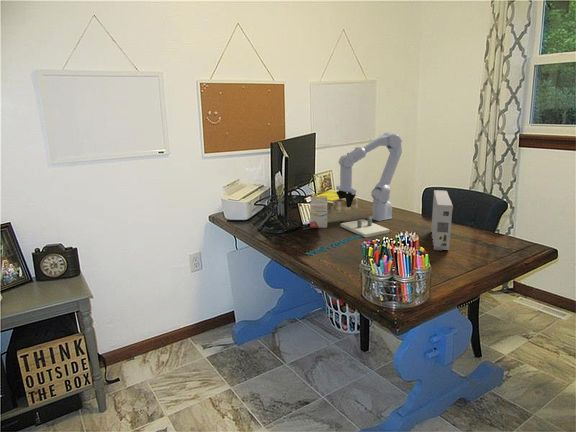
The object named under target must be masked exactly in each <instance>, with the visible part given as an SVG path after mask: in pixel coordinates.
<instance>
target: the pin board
mask: <svg viewBox="0 0 576 432" xmlns="http://www.w3.org/2000/svg"><path fill="white" fill-rule="evenodd" d="M340 227H341V228H344V229H345V230H348V231H349V232H353V233H354V234H355V235H359V234H361V235H362V238H363V237H364V238H370V237H375V236H379V235H384V234H390V231H391V229H389V228H387V227H385V226H382V225H379V224H376V223H374V222H373V219H372V218H369V217H367V220H366V219H364V218H363V219H357V220H352V221H347V222H342V223H340Z"/></svg>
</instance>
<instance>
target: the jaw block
mask: <svg viewBox="0 0 576 432" xmlns="http://www.w3.org/2000/svg"><path fill="white" fill-rule="evenodd" d="M357 209H359V198H357V197H354V199H353V201H352V205H351V207H347V205H346V198H343V199H339V198H338V199H333V200H332V210H333V211H335V212H338V213H339V212H345V211H350V210H351V211H352V210H357Z"/></svg>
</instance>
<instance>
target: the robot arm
mask: <svg viewBox="0 0 576 432" xmlns="http://www.w3.org/2000/svg"><path fill="white" fill-rule="evenodd" d="M402 141H403V140H402V138H401V136H400V135H399V134H398V133H391V132H384V133H383V134H381V135H379V136H378V137H377V138H375V139H373V140H372V141H370V142H369V143H368V144H366V145H364V146H362V147H361V146H355V147H354V149H353V150H351V151H349V152H347V153H346V155H345V154H343V155H341V156H340V158H339V160H338V164H339V166H340V170H339V171H340V173H339V174H340V175H339V176H340V178H339V181H340V182H339V183H340V185H336V186H335V188H336V190H337V191H336V194H337V196H338V199H343V198H346V205H347V207H351V205H352V201H353V199H354V198H356V197H355V196H357V190H356V189H355V188H353V187H352V186H353V184H352V181H353V179H352V177H353V170H352V169H353V166H354V164H356V163H357V162H359V161H360V160H362V159H364V158H366V155H367V153H369V152H372V151H374V150H375V149H377V148H379V147H386V148H387V149H388V151H389V155H388V158H387V160H386V163H385V165H384V168H383V171H382V173H381V177H380V179H379V181H378V182H377V183H376V185H375V186H374V188H373V189H372V190H371V192H370V193H371V197H372V199H373V200H372V215H370V216H368V218H372V220H375V221H377V222H380V221H385V220H386V221H387V220H391V219H393V217H392V215H393V205H392V203H391V201H389V200H390V193H391V187H390V184H391V181H392V179H393V177H394V175H395V171H396V170H397V167H398V164H399V161H400V159H401V156H402V152H403V151H402V143H403V142H402Z"/></svg>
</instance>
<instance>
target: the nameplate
mask: <svg viewBox="0 0 576 432" xmlns="http://www.w3.org/2000/svg"><path fill="white" fill-rule="evenodd" d="M348 237H349V236H348ZM359 238H363V236H362V235H361V234H355V235H352V237H349V238H344V239H341V240H340V241H336V242H333V243H329V244H328V246H324V245H323V246H322V245H321V246H320V247H319V248H317V249H314V250H311V251H309V252H305V253H304V255H305V254H307V255H306V256H311V255H314V256H315V254H319V253H320V252H328V249H331V246H332V248H333V249H334V248H336V249H337V248H338V247H341V246H342V245H343V244H346V243H348V242H352V241H354V240H357V239H359Z"/></svg>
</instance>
